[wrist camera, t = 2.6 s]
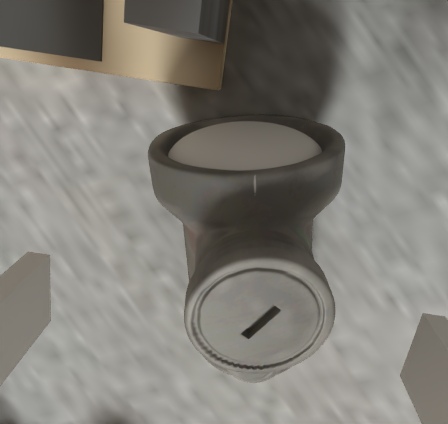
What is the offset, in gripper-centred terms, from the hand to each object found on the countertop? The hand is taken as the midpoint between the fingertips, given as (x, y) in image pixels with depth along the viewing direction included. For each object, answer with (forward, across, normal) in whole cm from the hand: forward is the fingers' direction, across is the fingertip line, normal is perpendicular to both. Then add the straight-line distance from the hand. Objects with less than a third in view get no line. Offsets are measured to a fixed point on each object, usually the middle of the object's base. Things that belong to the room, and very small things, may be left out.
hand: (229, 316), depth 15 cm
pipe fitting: (+9, -1, 0) cm, 9 cm away
